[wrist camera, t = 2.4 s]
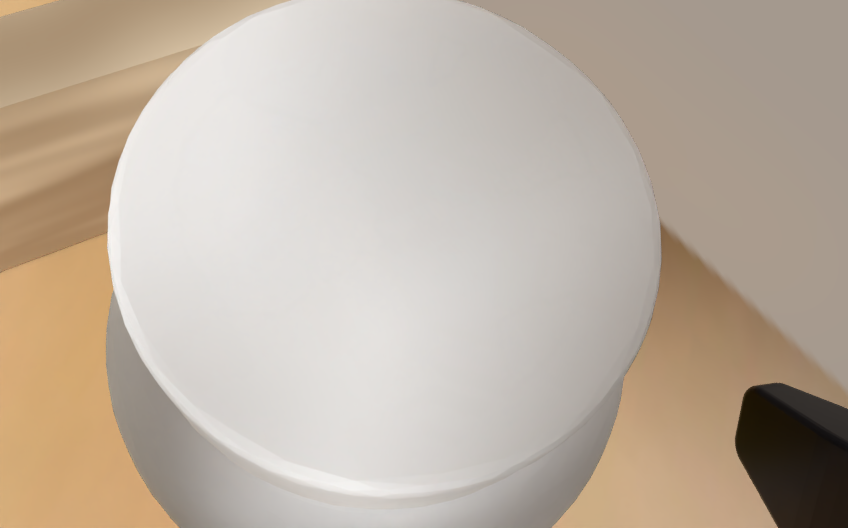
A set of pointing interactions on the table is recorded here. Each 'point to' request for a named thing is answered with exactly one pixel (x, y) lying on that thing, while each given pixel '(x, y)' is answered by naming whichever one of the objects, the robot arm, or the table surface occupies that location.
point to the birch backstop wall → (83, 106)
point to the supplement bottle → (375, 273)
